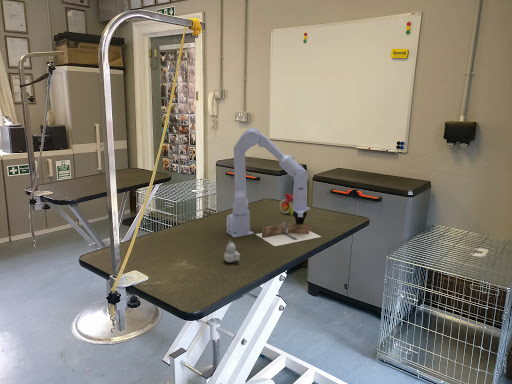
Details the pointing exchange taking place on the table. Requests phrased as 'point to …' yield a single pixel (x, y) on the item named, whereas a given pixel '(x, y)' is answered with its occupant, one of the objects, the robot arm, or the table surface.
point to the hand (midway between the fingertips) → (299, 228)
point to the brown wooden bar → (298, 228)
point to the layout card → (288, 238)
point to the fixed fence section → (274, 230)
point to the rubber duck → (231, 253)
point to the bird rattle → (287, 204)
